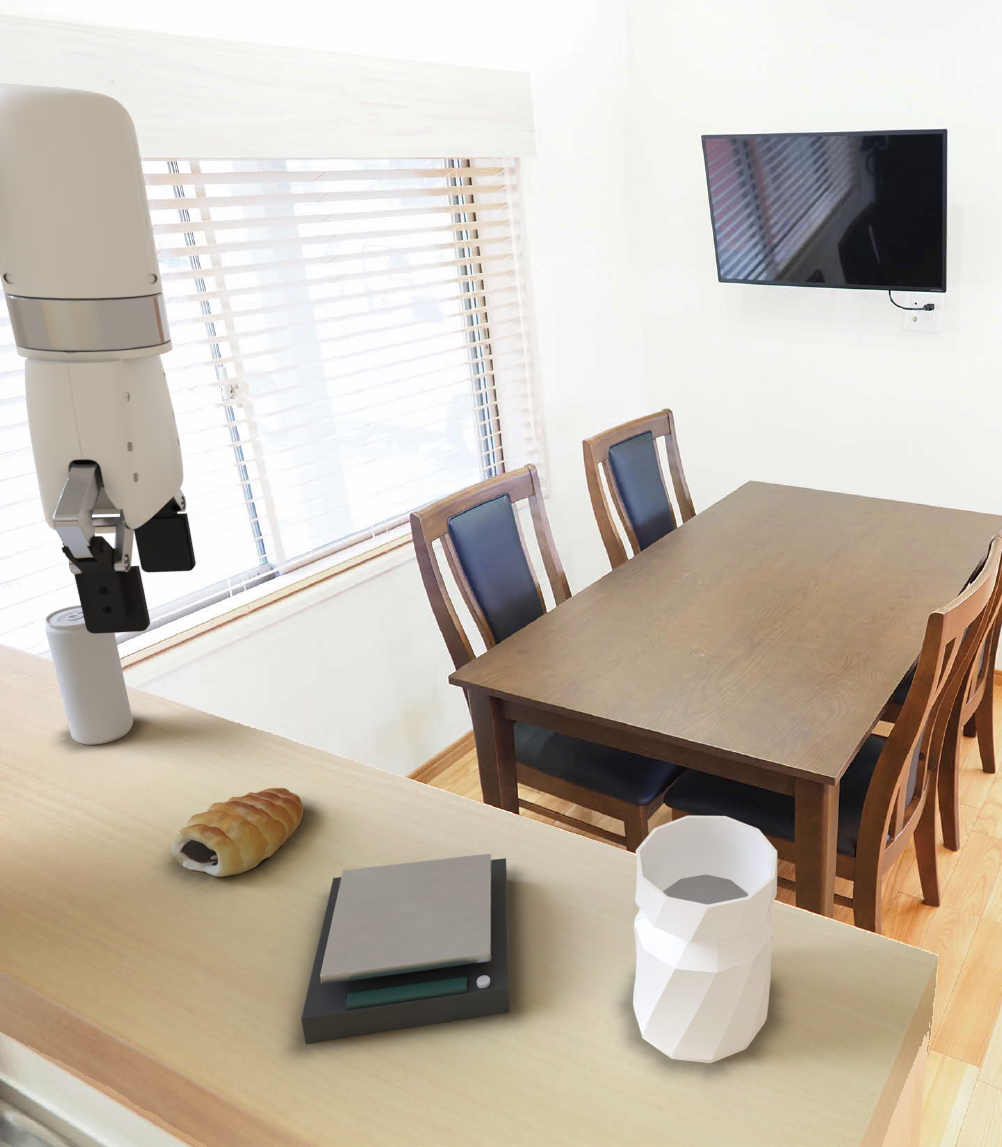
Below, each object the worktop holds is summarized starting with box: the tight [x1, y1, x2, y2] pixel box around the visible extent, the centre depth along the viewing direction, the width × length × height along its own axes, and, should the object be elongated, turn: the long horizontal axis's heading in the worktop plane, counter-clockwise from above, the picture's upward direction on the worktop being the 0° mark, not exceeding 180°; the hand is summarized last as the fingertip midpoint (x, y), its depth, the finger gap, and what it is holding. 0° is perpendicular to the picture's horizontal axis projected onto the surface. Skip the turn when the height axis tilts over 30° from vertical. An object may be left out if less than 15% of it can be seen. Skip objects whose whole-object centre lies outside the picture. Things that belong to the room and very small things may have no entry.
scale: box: [300, 857, 511, 1045], centre depth 66 cm, size 12×13×2 cm
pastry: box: [170, 787, 304, 878], centre depth 75 cm, size 9×7×4 cm
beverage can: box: [44, 604, 134, 746], centre depth 87 cm, size 5×5×12 cm
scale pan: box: [320, 853, 492, 985], centre depth 65 cm, size 10×10×1 cm
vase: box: [632, 815, 778, 1064], centre depth 61 cm, size 9×9×12 cm
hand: (146, 598), depth 62 cm, fingers open, 9 cm apart
